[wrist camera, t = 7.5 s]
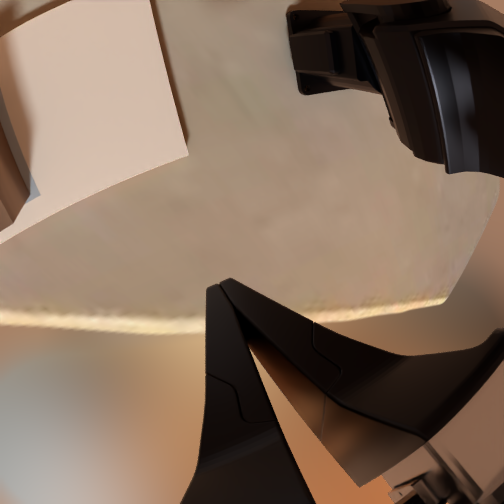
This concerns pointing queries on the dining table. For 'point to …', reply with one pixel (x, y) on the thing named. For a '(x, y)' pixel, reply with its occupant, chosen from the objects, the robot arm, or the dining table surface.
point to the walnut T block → (10, 185)
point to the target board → (85, 103)
